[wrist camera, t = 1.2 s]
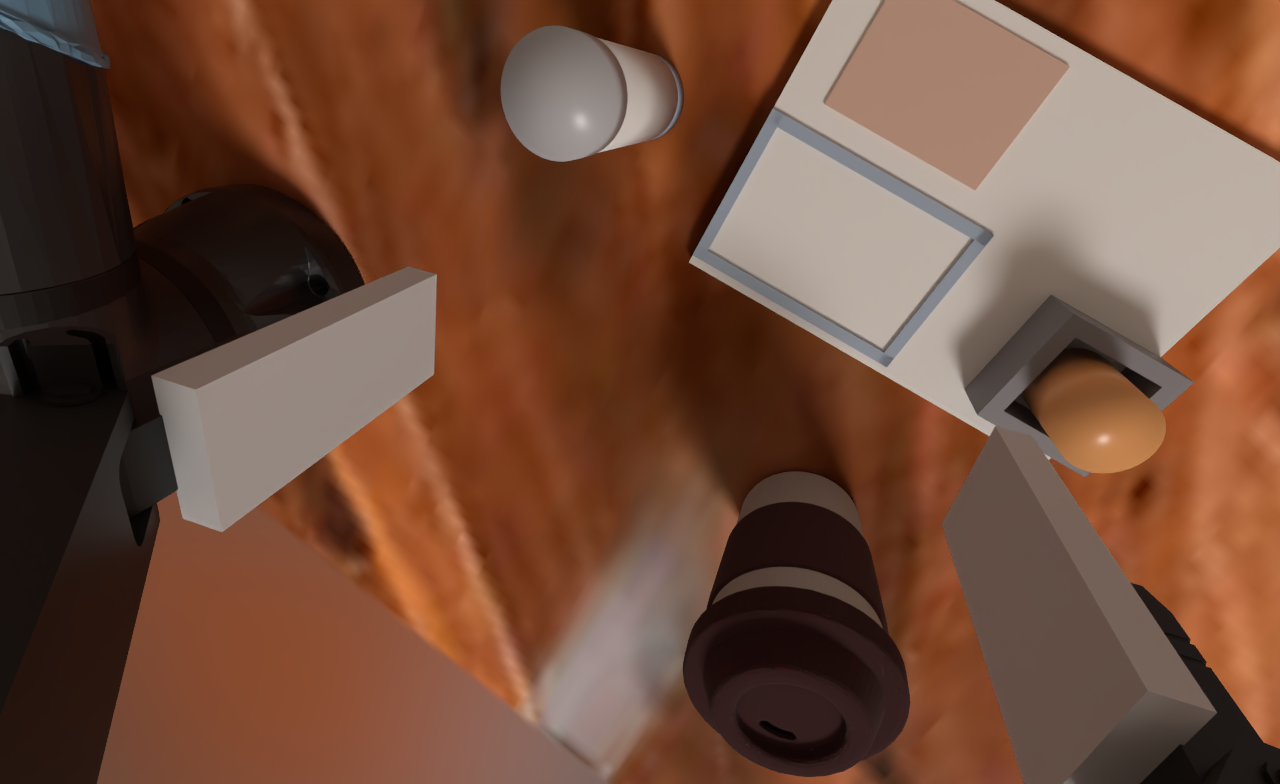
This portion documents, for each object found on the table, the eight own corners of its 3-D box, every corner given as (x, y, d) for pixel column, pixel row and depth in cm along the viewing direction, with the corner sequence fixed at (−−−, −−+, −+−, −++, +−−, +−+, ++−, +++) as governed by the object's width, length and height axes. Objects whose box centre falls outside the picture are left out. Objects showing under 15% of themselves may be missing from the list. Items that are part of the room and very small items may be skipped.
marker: (594, 117, 32) (485, 125, 21) (627, 35, 30) (525, 0, 19) (661, 156, 32) (585, 183, 21) (699, 77, 30) (635, 64, 19)
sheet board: (691, 258, 34) (677, 276, 30) (869, -66, 26) (876, -90, 23) (1037, 458, 33) (1061, 498, 30) (1322, 191, 26) (1397, 205, 22)
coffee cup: (824, 421, 36) (827, 606, 23) (913, 543, 38) (963, 778, 25) (692, 491, 40) (631, 679, 27) (777, 596, 42) (759, 819, 29)
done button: (1004, 394, 30) (1035, 443, 26) (1062, 333, 29) (1106, 375, 24) (1070, 432, 30) (1112, 488, 26) (1133, 374, 28) (1190, 423, 24)
